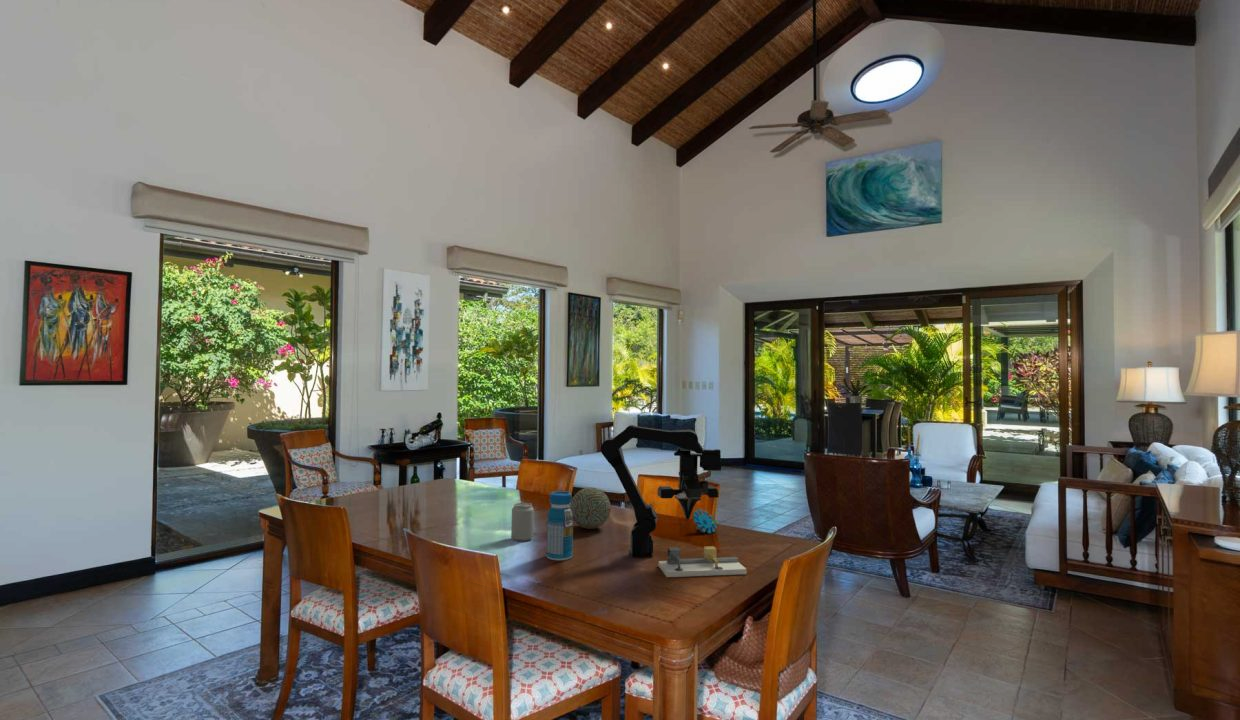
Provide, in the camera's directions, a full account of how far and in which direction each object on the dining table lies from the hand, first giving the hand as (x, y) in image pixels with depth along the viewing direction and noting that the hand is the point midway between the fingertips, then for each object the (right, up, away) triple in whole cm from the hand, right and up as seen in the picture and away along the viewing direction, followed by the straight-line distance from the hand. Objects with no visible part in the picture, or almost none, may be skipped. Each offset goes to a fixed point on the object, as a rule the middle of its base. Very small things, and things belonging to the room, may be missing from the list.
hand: (687, 519), depth 201 cm
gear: (+10, -13, +32) cm, 36 cm away
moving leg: (+6, -10, -12) cm, 17 cm away
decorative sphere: (-32, -12, +33) cm, 48 cm away
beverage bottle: (-40, -11, -3) cm, 42 cm away
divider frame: (+4, -10, -12) cm, 17 cm away
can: (-55, -11, +17) cm, 59 cm away
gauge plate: (+3, -12, -13) cm, 18 cm away
